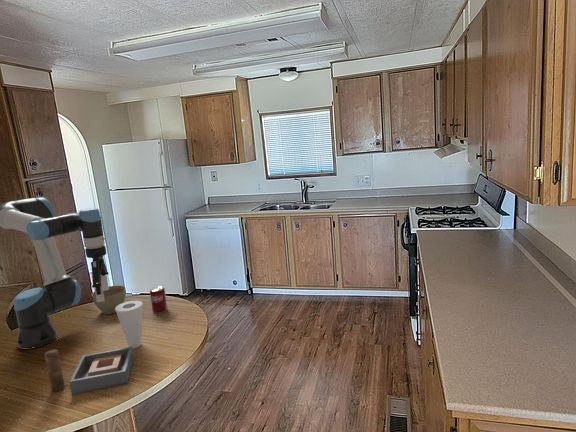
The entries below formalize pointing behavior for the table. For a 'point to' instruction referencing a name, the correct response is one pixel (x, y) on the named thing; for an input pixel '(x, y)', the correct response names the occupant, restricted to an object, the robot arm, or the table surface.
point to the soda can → (158, 300)
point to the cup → (131, 321)
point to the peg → (54, 370)
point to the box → (102, 370)
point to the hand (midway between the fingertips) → (103, 295)
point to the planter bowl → (111, 299)
